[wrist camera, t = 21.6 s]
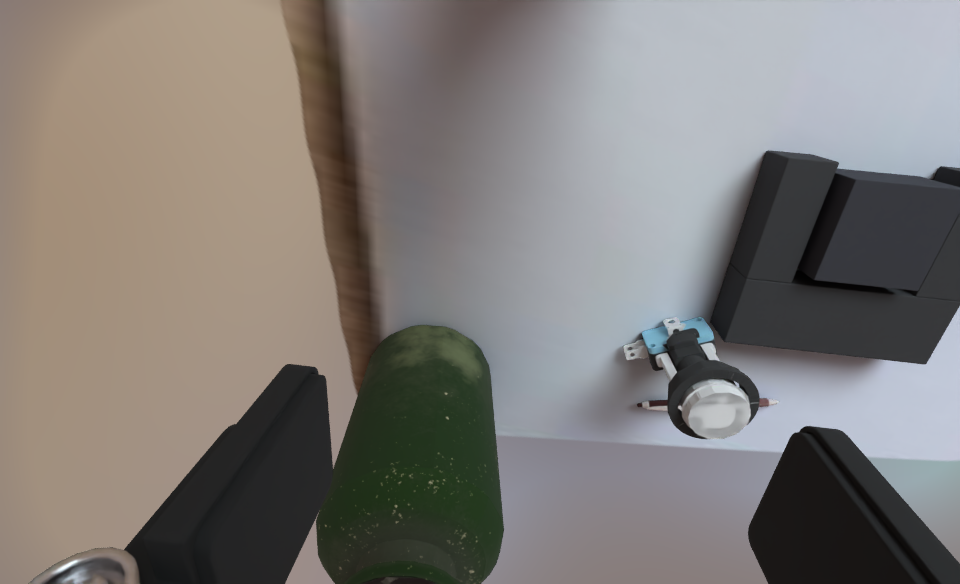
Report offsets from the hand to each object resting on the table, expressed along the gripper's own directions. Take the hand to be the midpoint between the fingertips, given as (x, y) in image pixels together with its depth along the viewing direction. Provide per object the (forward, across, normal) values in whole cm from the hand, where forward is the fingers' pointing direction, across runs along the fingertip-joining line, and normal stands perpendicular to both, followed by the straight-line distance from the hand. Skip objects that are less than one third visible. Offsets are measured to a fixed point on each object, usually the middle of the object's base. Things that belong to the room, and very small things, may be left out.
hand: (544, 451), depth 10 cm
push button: (+26, -12, +11) cm, 31 cm away
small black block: (+26, -22, 0) cm, 34 cm away
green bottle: (+26, +7, +17) cm, 32 cm away
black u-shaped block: (+26, -22, +3) cm, 34 cm away
